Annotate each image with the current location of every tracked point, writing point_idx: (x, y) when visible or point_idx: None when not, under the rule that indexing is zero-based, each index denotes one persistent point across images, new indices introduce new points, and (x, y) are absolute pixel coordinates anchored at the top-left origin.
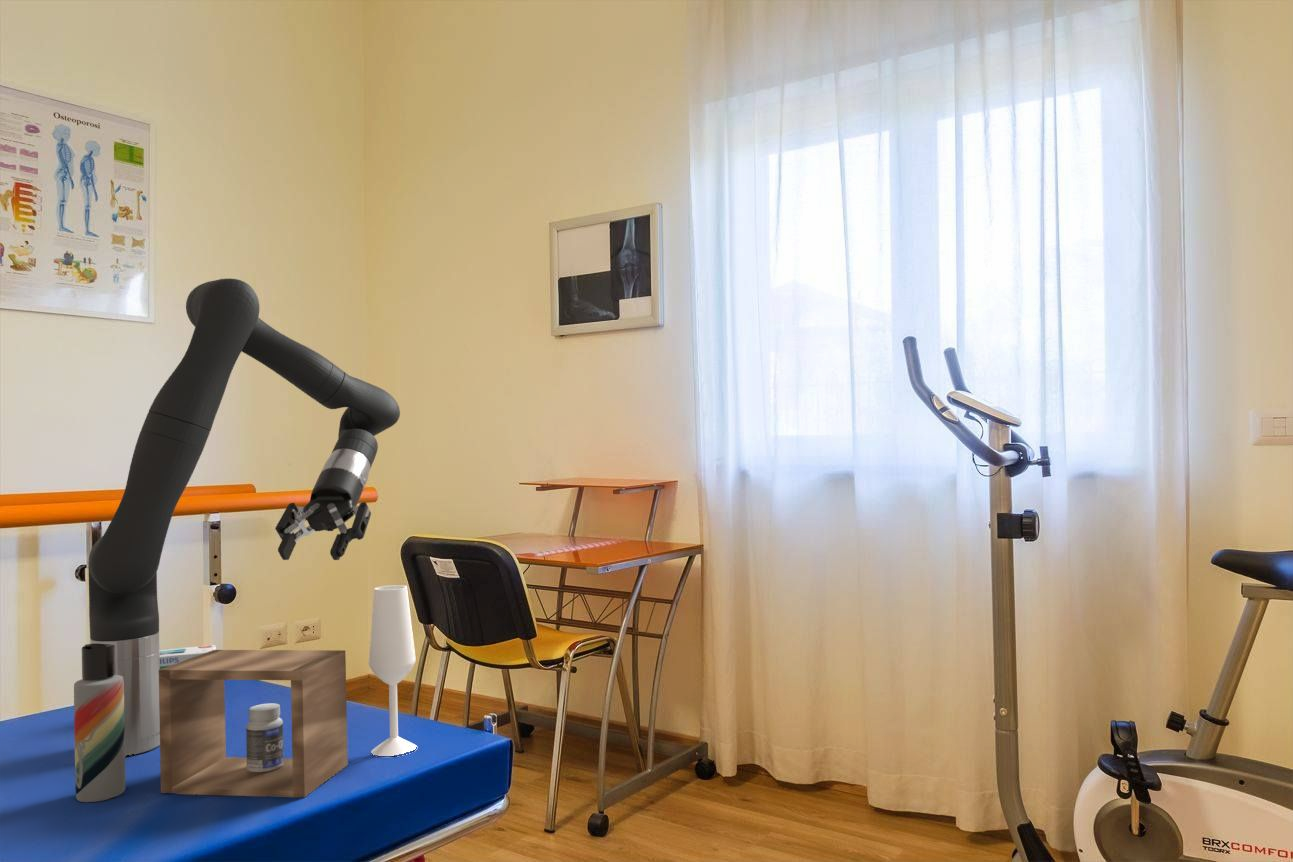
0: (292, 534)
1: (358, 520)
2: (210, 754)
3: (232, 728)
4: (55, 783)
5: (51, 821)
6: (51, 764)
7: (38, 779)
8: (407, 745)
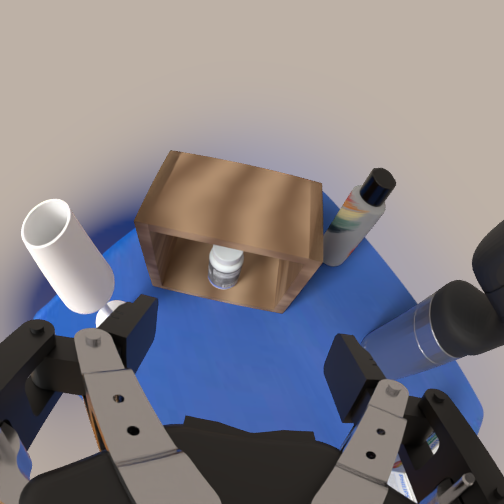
0: (367, 399)
1: (9, 351)
2: (278, 283)
3: (318, 419)
4: (376, 280)
5: (328, 217)
6: None
7: (393, 289)
8: (102, 313)
